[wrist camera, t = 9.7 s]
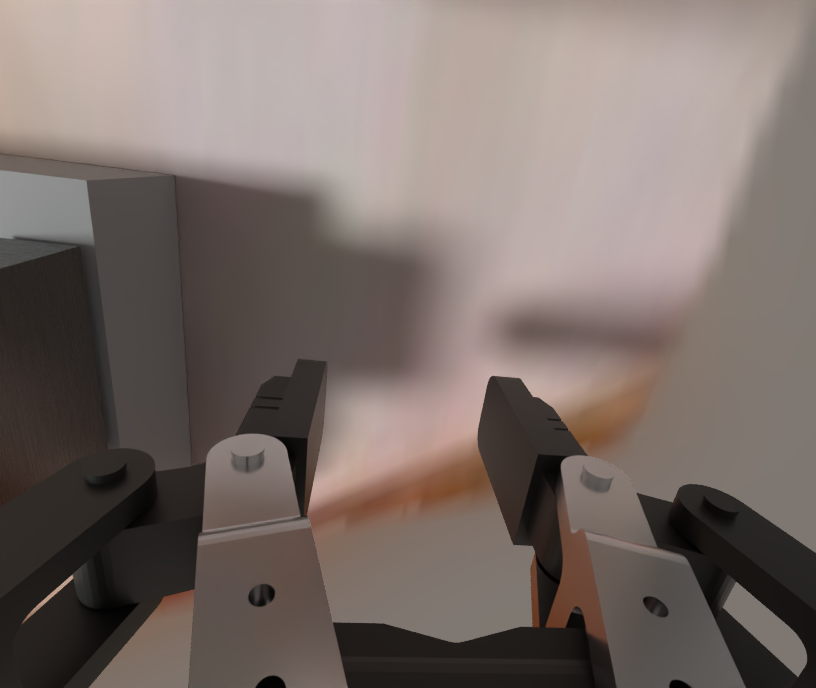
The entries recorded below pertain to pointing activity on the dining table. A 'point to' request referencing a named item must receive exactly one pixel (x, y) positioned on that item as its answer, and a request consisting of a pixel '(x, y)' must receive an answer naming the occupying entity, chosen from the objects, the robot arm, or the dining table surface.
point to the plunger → (45, 365)
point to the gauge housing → (117, 288)
